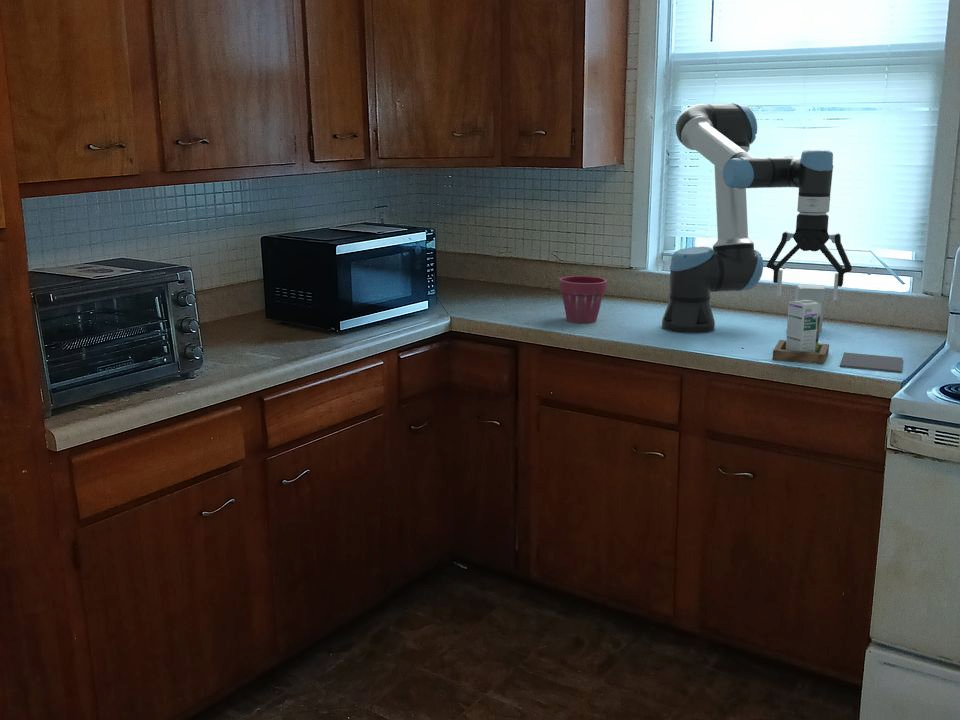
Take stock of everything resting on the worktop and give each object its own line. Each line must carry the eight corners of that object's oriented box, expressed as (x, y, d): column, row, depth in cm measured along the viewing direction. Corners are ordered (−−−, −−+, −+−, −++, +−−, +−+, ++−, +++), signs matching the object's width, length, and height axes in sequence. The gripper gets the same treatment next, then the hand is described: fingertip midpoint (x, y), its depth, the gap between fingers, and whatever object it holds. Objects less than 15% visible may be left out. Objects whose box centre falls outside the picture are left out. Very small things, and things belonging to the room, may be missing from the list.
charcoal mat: (839, 366, 234) (840, 364, 233) (843, 354, 246) (844, 352, 246) (901, 372, 228) (901, 370, 228) (902, 359, 240) (902, 357, 240)
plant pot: (612, 318, 290) (613, 277, 287) (595, 327, 278) (596, 284, 275) (569, 314, 297) (570, 273, 294) (551, 322, 285) (551, 280, 282)
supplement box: (822, 332, 271) (826, 288, 268) (795, 331, 273) (798, 288, 269) (818, 326, 278) (822, 284, 275) (792, 325, 280) (795, 283, 276)
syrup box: (800, 360, 240) (804, 304, 236) (784, 355, 245) (788, 300, 242) (817, 358, 242) (822, 302, 239) (801, 352, 247) (806, 298, 244)
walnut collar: (772, 359, 241) (773, 350, 240) (778, 348, 252) (779, 339, 251) (824, 364, 236) (824, 354, 235) (828, 353, 247) (829, 344, 246)
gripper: (759, 213, 236) (753, 296, 241) (866, 216, 226) (858, 303, 231) (763, 210, 243) (758, 292, 248) (867, 213, 233) (859, 298, 238)
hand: (806, 297), depth 240 cm, fingers open, 13 cm apart
